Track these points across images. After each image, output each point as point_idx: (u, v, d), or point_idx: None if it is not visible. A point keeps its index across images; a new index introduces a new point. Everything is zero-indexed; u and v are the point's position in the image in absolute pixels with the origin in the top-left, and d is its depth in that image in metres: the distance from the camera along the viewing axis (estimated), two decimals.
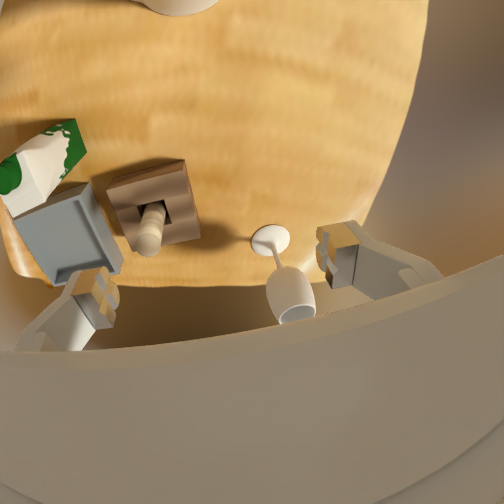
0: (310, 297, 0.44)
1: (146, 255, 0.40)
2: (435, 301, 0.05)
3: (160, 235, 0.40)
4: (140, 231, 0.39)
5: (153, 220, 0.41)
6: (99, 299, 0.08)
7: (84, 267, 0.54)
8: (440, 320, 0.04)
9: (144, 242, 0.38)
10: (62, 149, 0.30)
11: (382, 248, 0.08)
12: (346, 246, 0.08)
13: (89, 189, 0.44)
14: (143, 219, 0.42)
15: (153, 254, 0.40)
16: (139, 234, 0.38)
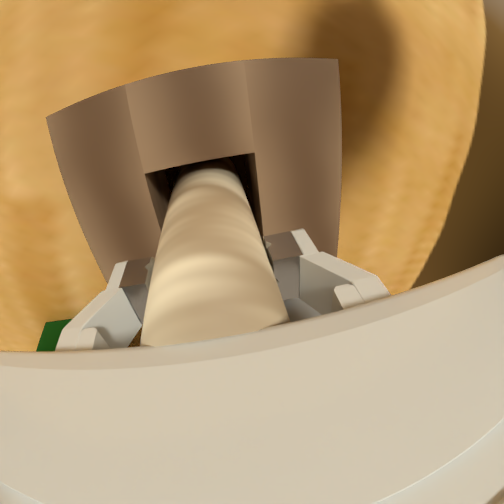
0: None
1: None
2: (435, 301, 0.05)
3: (194, 266, 0.06)
4: None
5: (156, 253, 0.09)
6: None
7: None
8: (440, 320, 0.04)
9: None
10: None
11: (325, 260, 0.08)
12: (286, 258, 0.08)
13: None
14: None
15: None
16: None
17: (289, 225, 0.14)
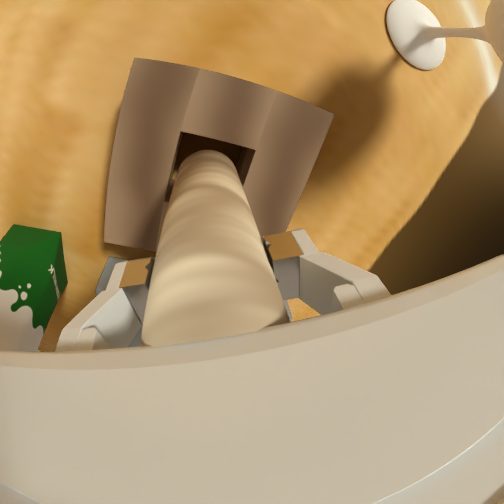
0: None
1: None
2: (435, 301, 0.05)
3: (194, 266, 0.06)
4: None
5: (156, 253, 0.09)
6: None
7: None
8: (440, 320, 0.04)
9: None
10: None
11: (324, 260, 0.08)
12: (286, 258, 0.08)
13: None
14: None
15: None
16: None
17: (255, 208, 0.20)
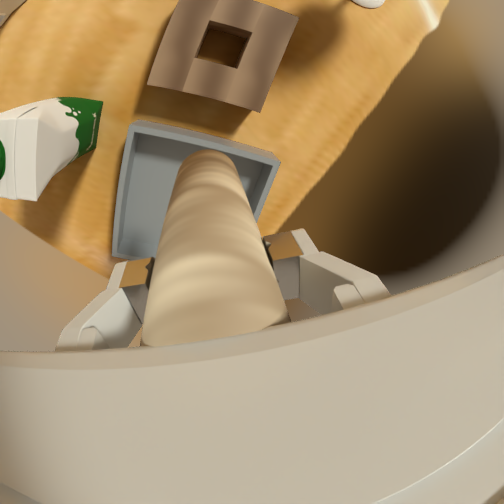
0: None
1: None
2: (435, 301, 0.05)
3: (194, 265, 0.06)
4: None
5: None
6: None
7: None
8: (440, 320, 0.04)
9: None
10: (49, 100, 0.19)
11: (324, 260, 0.08)
12: (286, 258, 0.08)
13: (144, 121, 0.31)
14: None
15: None
16: None
17: (252, 65, 0.26)
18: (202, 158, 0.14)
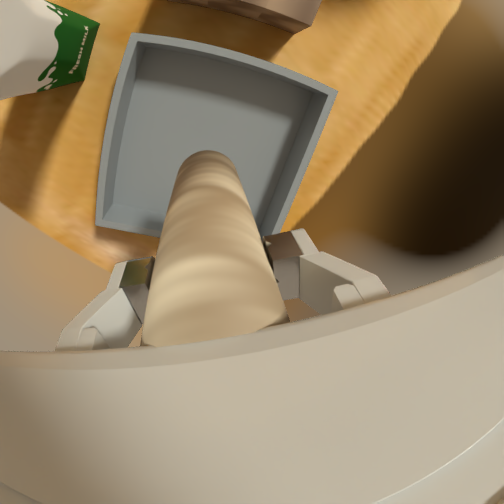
0: None
1: None
2: (435, 301, 0.05)
3: (194, 267, 0.06)
4: None
5: (156, 254, 0.09)
6: None
7: (283, 170, 0.29)
8: (440, 320, 0.04)
9: None
10: None
11: (324, 261, 0.08)
12: (286, 258, 0.08)
13: None
14: None
15: None
16: None
17: None
18: (202, 159, 0.14)
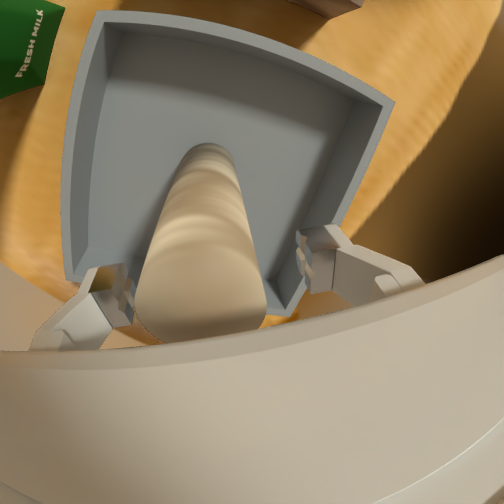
0: None
1: (254, 320, 0.08)
2: (435, 301, 0.05)
3: (184, 222, 0.08)
4: None
5: None
6: (118, 296, 0.08)
7: (312, 205, 0.22)
8: (440, 320, 0.04)
9: (173, 319, 0.08)
10: None
11: (361, 252, 0.08)
12: (323, 250, 0.08)
13: None
14: None
15: (254, 294, 0.08)
16: None
17: None
18: (202, 149, 0.16)
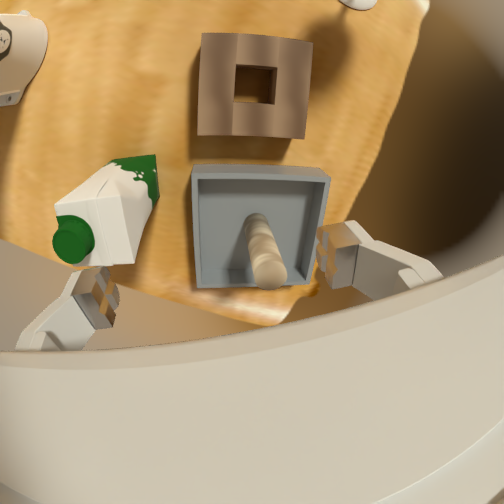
0: None
1: (285, 277, 0.33)
2: (435, 301, 0.05)
3: (262, 256, 0.33)
4: None
5: (250, 256, 0.36)
6: (99, 299, 0.08)
7: (307, 228, 0.46)
8: (440, 320, 0.04)
9: (264, 281, 0.33)
10: (109, 168, 0.28)
11: (382, 248, 0.08)
12: (346, 246, 0.08)
13: (200, 165, 0.38)
14: None
15: (283, 270, 0.32)
16: None
17: (286, 98, 0.30)
18: (253, 220, 0.42)
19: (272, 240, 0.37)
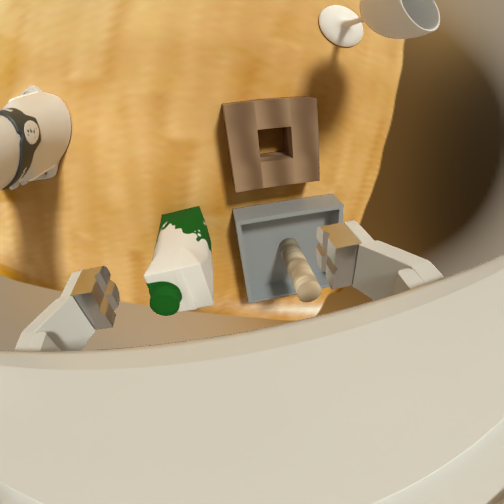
0: None
1: (319, 291, 0.44)
2: (435, 301, 0.05)
3: (301, 278, 0.44)
4: None
5: (291, 277, 0.47)
6: (99, 299, 0.08)
7: None
8: (440, 320, 0.04)
9: (305, 296, 0.44)
10: (172, 232, 0.40)
11: (382, 248, 0.08)
12: (346, 246, 0.08)
13: (238, 210, 0.49)
14: None
15: (318, 286, 0.43)
16: None
17: (301, 151, 0.40)
18: (286, 245, 0.52)
19: (305, 262, 0.48)
